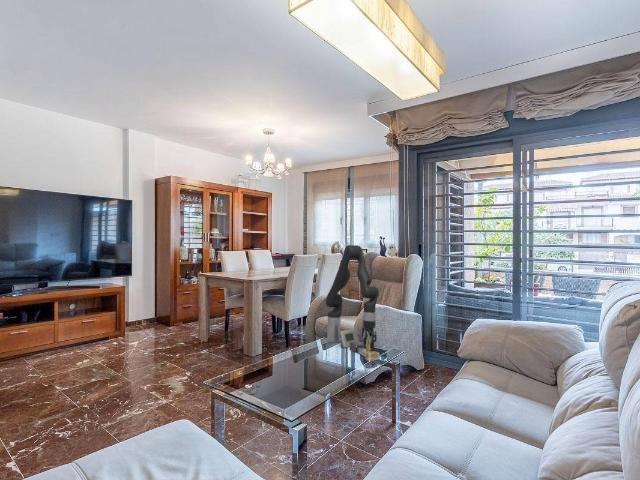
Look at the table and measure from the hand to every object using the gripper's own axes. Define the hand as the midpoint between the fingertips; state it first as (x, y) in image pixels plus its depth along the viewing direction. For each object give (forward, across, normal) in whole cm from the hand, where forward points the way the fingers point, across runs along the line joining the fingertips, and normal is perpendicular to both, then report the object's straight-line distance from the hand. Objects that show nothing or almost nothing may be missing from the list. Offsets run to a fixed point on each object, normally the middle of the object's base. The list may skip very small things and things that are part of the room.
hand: (368, 346), depth 217 cm
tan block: (+7, +4, 0) cm, 8 cm away
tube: (+6, -4, 0) cm, 8 cm away
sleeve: (+7, -16, 0) cm, 17 cm away
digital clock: (+7, -28, +1) cm, 29 cm away
